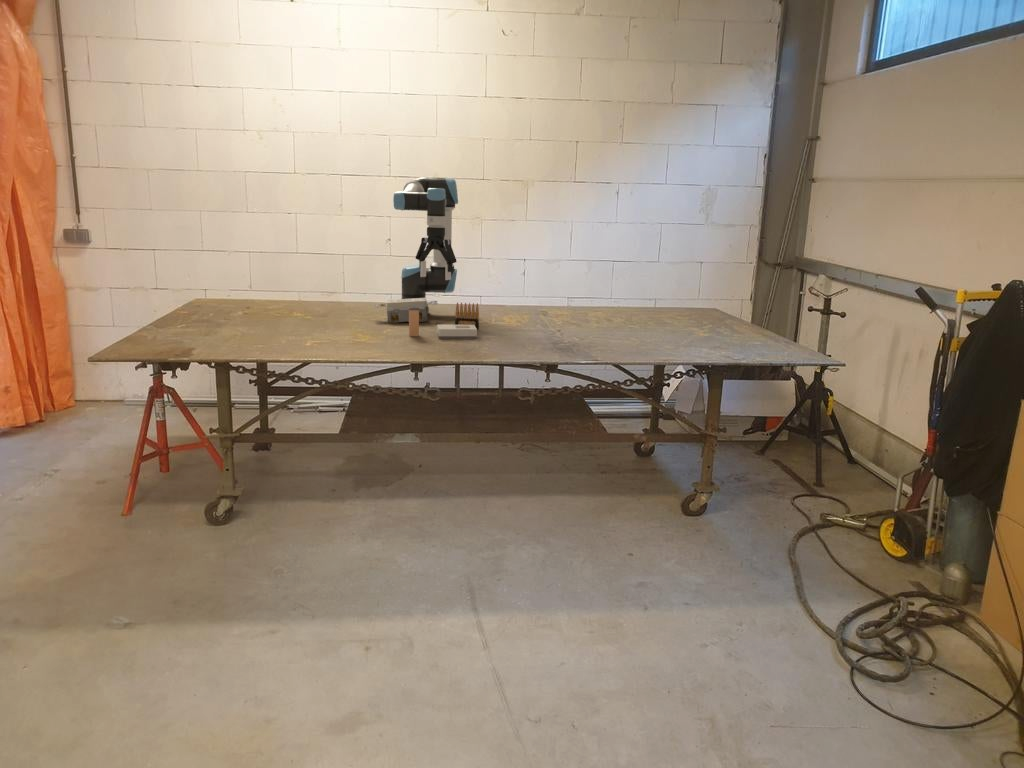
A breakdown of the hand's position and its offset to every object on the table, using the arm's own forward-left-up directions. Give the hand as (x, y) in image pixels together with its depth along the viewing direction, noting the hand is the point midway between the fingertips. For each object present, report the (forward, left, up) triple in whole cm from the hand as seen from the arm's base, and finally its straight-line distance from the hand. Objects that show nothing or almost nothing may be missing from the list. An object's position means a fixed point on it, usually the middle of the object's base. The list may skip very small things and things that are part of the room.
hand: (435, 278), depth 314 cm
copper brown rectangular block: (+2, -9, -24) cm, 26 cm away
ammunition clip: (-11, +15, -24) cm, 31 cm away
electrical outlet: (-31, -11, -24) cm, 41 cm away
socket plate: (+4, +9, -24) cm, 26 cm away
